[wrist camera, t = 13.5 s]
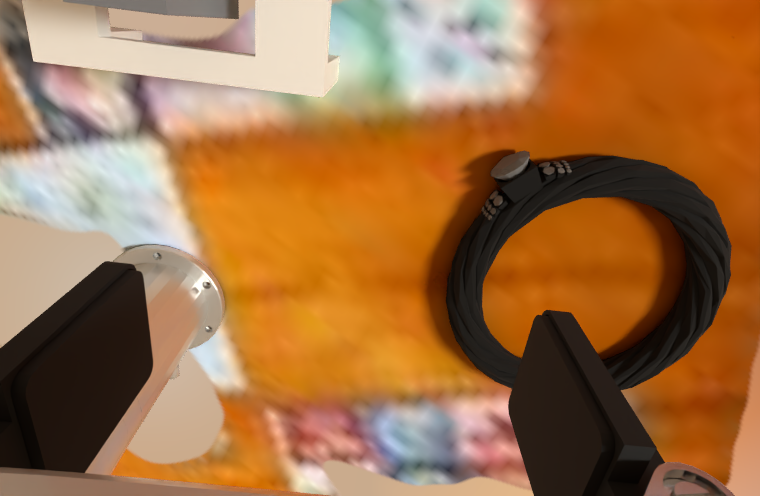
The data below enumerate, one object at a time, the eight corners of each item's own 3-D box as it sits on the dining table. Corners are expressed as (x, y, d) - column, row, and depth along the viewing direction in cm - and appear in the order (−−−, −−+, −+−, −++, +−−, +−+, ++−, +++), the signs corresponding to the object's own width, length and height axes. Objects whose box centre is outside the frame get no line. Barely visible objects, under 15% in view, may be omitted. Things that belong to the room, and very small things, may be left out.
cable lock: (526, 443, 54) (378, 248, 43) (518, 417, 57) (379, 231, 47) (777, 333, 47) (673, 68, 36) (750, 311, 50) (648, 64, 40)
